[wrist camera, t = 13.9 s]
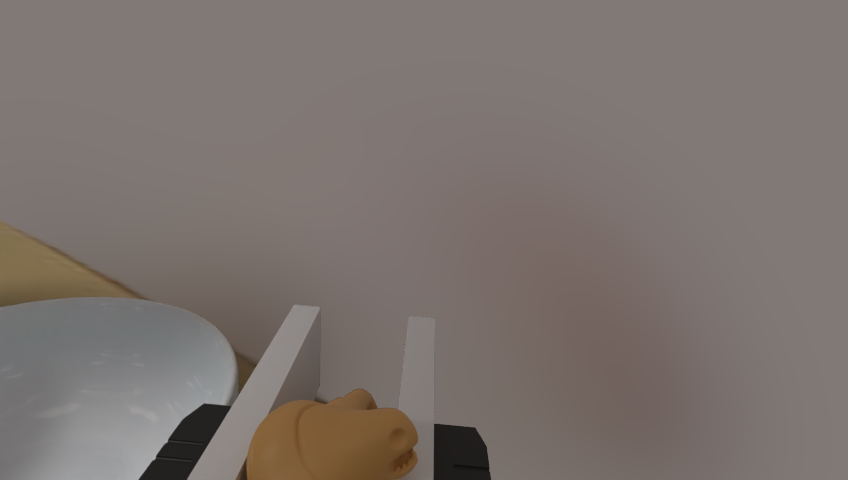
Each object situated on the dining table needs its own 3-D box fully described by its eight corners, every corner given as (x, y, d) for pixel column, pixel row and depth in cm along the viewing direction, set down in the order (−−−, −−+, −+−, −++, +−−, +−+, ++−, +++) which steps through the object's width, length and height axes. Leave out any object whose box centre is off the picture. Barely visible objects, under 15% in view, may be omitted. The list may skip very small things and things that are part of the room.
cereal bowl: (-348, 1086, 9) (-598, 960, 6) (-300, 547, 18) (-399, 405, 15) (314, 505, 22) (316, 388, 20) (153, 360, 31) (140, 267, 28)
